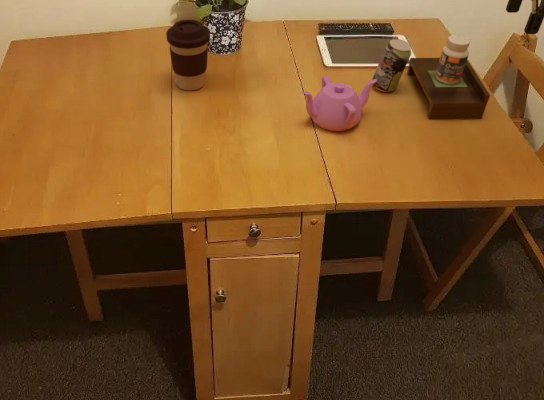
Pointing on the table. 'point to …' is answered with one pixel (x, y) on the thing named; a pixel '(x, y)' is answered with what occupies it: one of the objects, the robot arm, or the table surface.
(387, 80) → the beverage can
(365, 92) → the teapot
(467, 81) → the shelf
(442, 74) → the pill bottle
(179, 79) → the coffee cup
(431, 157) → the table surface
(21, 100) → the table surface
